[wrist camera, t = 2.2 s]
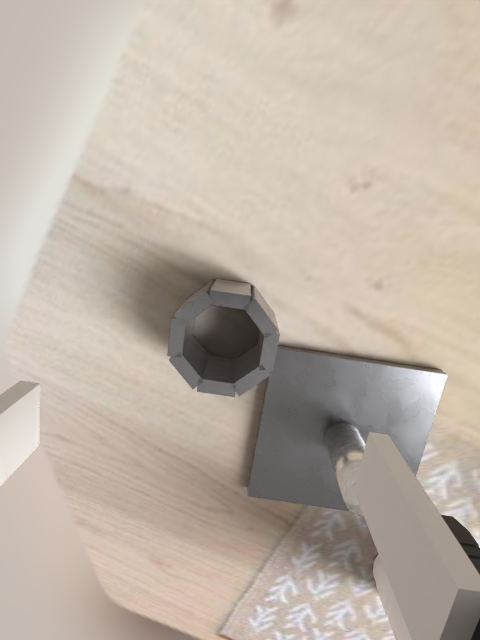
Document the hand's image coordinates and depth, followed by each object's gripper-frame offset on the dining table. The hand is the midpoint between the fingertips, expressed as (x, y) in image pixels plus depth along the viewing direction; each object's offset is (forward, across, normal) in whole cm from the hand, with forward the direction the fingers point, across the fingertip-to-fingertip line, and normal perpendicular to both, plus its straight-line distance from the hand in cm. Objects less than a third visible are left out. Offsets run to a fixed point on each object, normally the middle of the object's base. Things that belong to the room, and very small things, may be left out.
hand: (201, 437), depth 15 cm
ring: (+16, 0, 0) cm, 16 cm away
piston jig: (+16, +11, -8) cm, 21 cm away
